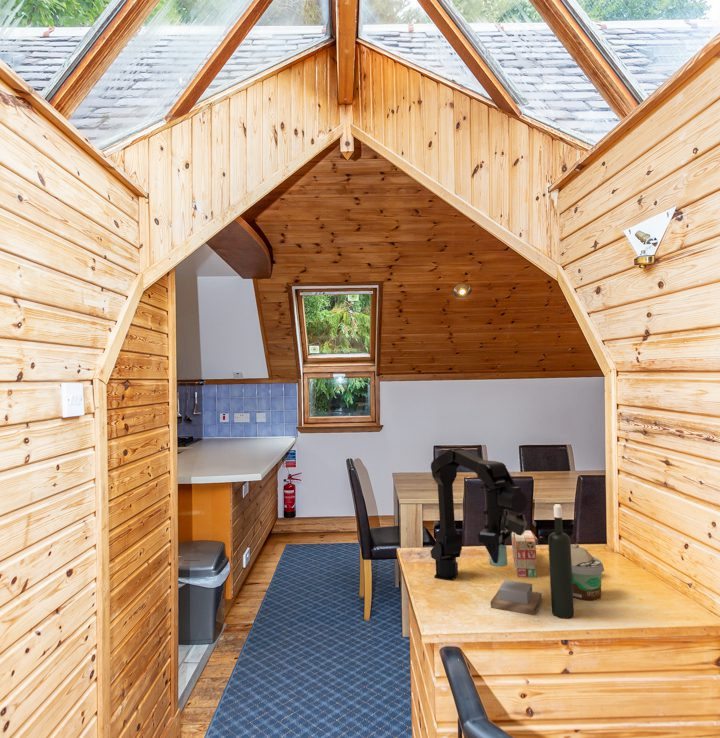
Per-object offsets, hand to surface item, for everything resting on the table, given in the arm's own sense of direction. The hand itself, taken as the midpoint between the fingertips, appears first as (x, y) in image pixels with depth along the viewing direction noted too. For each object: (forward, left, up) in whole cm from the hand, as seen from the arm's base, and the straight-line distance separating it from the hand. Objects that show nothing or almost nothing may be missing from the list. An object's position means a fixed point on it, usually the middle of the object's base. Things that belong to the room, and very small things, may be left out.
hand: (498, 560), depth 154 cm
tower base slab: (+4, +2, -13) cm, 14 cm away
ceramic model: (+17, +34, -13) cm, 40 cm away
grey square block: (+4, +2, -11) cm, 12 cm away
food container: (+23, +15, -13) cm, 31 cm away
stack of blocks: (0, +35, -13) cm, 37 cm away
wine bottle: (+17, 0, -13) cm, 21 cm away
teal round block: (0, 0, -1) cm, 1 cm away
